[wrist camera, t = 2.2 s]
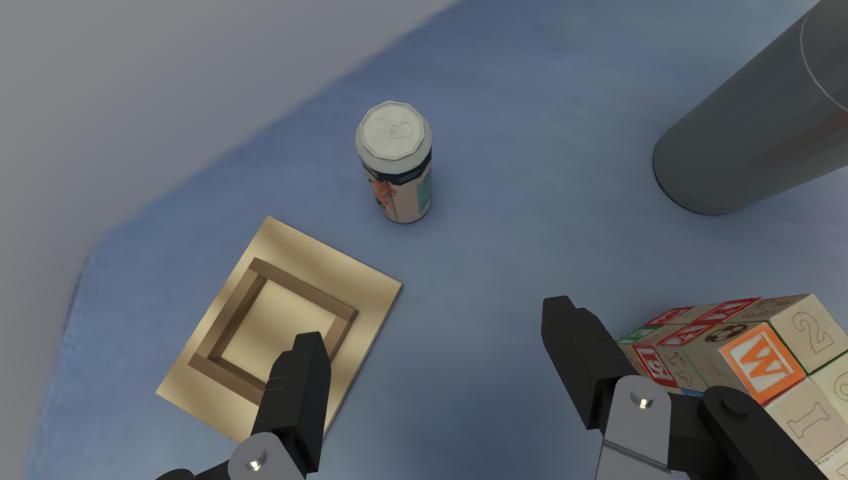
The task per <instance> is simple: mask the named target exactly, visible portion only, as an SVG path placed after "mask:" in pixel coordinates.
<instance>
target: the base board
mask: <svg viewBox="0 0 848 480" xmlns="http://www.w3.org/2000/svg"><path fill="white" fill-rule="evenodd" d="M402 287H403V285H402V284H401V283H400V282H398V281H396V280H394V279H392V278H390V277H388V276H386V275H384V274H382V273H380V272H378V271H376V270H374V269H372V268H370V267H368V266H366V265H364V264H362V263H360V262H358V261H356V260H354V259H352V258H350V257H349V256H347V255H345V254H343V253H341V252H339V251H337V250H335V249H333V248H331V247H329V246H327V245H325V244H323V243H321V242H319V241H317V240H315V239H313V238H311V237H309V236H307V235H305V234H303V233H301V232H300V231H298V230H296V229H294V228H292V227H290V226H288V225H286V224H284V223H282V222H280V221H278V220H276V219H274V218H272V217H270V216H267V218H266V219H265V221H264V223H263V224H262V226H261V227H260V229H259V230H258V232H257V234H256V235H255V237H254V238H253V240H252V241H251V243H250V245H249V246H248V248H247V249H246V251H245V252H244V254H243V256H242V257H241V259H240V260H239V262H238V263H237V265H236V267H235V268H234V270H233V271H232V273H231V274H230V276H229V278H228V279H227V281H226V282H225V284H224V286H223V287H222V289H221V290H220V292H219V293H218V295H217V297H216V298H215V300H214V301H213V303H212V304H211V306H210V308H209V309H208V311H207V312H206V314H205V315H204V317H203V319H202V320H201V322H200V323H199V325H198V326H197V328H196V330H195V331H194V333H193V334H192V336H191V338H190V339H189V341H188V342H187V344H186V345H185V347H184V349H183V350H182V352H181V353H180V355H179V356H178V358H177V360H176V361H175V363H174V364H173V366H172V367H171V369H170V371H169V372H168V374H167V375H166V377H165V378H164V380H163V382H162V383H161V385H160V386H159V388H158V389H157V391H156V393H157V394H158V395H160V396H162V397H163V398H165V399H166V400H168V401H170V402H171V403H173V404H175V405H176V406H178V407H180V408H181V409H183V410H185V411H186V412H188V413H190V414H191V415H193V416H195V417H196V418H198V419H200V420H201V421H203V422H205V423H206V424H208V425H209V426H211V427H213V428H214V429H216V430H218V431H219V432H221V433H223V434H224V435H226V436H228V437H229V438H231V439H233V440H234V441H236V442H238V443H239V444H241V443H242V442H243V441H244V440H245V439H247V438H249V437H250V434H251V431H252V428H253V425H254V422H255V419H256V416H257V412H258V409H259V406H260V403H261V400H262V397H263V394H264V392H265V387H266V384H267V381H268V380H269V375H270V371H271V368H272V365H273V363H274V362H275V361H276V359H277V358H278V357H279V356H280V354H281V353H282V352H283V351H289V350H292V348H293V344H294V340H295V337H296V335H297V334H301V333H308V332H314V331H319V332H320V333H321V336H322V339H323V342H324V345H325V348H326V351H327V354H328V357H329V360H330V364H331V383H330V390H329V397H328V404H327V412H326V419H325V426H324V433H323V439H324V437H325V435H326V433H327V431H328V429H329V427H330V425H331V423H332V421H333V419H334V418H335V416H336V414H337V412H338V410H339V408H340V406H341V404H342V402H343V400H344V398H345V396H346V395H347V393H348V391H349V389H350V387H351V385H352V383H353V381H354V379H355V377H356V375H357V373H358V372H359V370H360V368H361V366H362V364H363V362H364V360H365V358H366V356H367V354H368V352H369V350H370V348H371V347H372V345H373V343H374V341H375V339H376V337H377V335H378V333H379V331H380V329H381V327H382V325H383V324H384V322H385V320H386V318H387V316H388V314H389V312H390V310H391V308H392V306H393V304H394V302H395V301H396V299H397V297H398V295H399V293H400V291H401V289H402ZM322 441H323V440H322Z"/></svg>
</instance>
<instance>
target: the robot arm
mask: <svg viewBox="0 0 848 480" xmlns="http://www.w3.org/2000/svg"><path fill="white" fill-rule="evenodd" d="M653 160H654V170H655V173H656V176H657V179H658V181H659V182H660V184H661V186H662V188H663V189H664V190H665V191H666V193H667V194H668V195H669V196H670V197H671V198H672V199H673V200H675V201H676V202H677V203H678V204H680V205H682V206H683V207H685V208H687V209H689V210H692V211H695V212H698V213H701V214H708V215H721V214H726V213H730V212H733V211H736V210H738V209H741V208H743V207H746V206H748V205H751V204H753V203H755V202H758V201H760V200H763V199H765V198H768V197H771V196H773V195H776V194H778V193H781V192H783V191H786V190H788V189H791V188H793V187H795V186H798V185H800V184H803V183H805V182H808V181H810V180H813V179H815V178H818V177H820V176H823V175H825V174H827V173H830V172H832V171H835V170H837V169H840V168H842V167H845V166H847V165H848V0H820V1H819V2H818V3H817V4H816V5H815V6H814V7H813V8H811V9H810V10H809V11H808V12H807V13H806V14H804V15H803V16H802V17H801V18H800V19H799V20H797V21H796V22H795V23H794V24H793V25H792V26H790V27H789V28H788V29H787V30H786V31H785V32H783V33H782V34H781V35H780V36H779V37H777V38H776V39H775V40H774V41H773V42H772V43H770V44H769V45H768V46H767V47H766V48H765V49H763V50H762V51H761V52H760V53H759V54H758V55H756V56H755V57H754V58H753V59H752V60H750V61H749V62H748V63H747V64H746V65H745V66H743V67H742V68H741V69H740V70H739V71H738V72H736V73H735V74H734V75H733V76H732V77H731V78H729V79H728V80H727V81H726V82H725V83H724V84H722V85H721V86H720V87H719V88H718V89H716V90H715V91H714V92H713V93H712V94H711V95H709V96H708V97H707V98H706V99H705V100H704V101H702V102H701V103H700V104H699V105H698V106H696V107H695V108H694V109H693V110H692V111H690V112H689V113H688V114H687V115H686V116H685V117H684V118H682V119H681V120H680V121H679V122H678V123H677V124H675V125H674V126H673V127H672V128H671V129H670V130H668V131H667V132H666V133H665V134H664V135H663V136H662V137H661V139H660V140H659V141H658V144H657V146H656V148H655V152H654V159H653ZM541 334H542V340H543V343H544V346H545V348H546V350H547V352H548V354H549V356H550V358H551V360H552V362H553V364H554V366H555V368H556V370H557V372H558V374H559V376H560V378H561V380H562V382H563V384H564V386H565V388H566V390H567V392H568V394H569V395H570V397H571V399H572V401H573V403H574V405H575V407H576V409H577V411H578V413H579V415H580V417H581V419H582V421H583V423H584V425H585V427H586V429H587V430H591V429H597V428H599V429H600V431H601V433H602V435H603V437H604V438H603V442H602V447H601V451H600V456H599V461H598V465H597V470H596V475H595V479H594V480H671V470H676V471H682V472H686V473H687V475H688V476H689V478H690V479H691V480H829V479H828V478H827V477H826V476H825V474H824V473H823V472H822V471H821V470H820V469H819V468H818V467H817V466H816V465H815V464H814V463H813V461H812V460H811V459H810V458H809V457H808V456H807V455H806V454H805V453H804V452H803V451H802V449H801V448H800V447H799V446H798V445H797V444H796V443H795V442H794V441H793V440H792V439H791V438H790V436H789V435H788V434H787V433H786V432H785V431H784V430H783V429H782V428H781V427H780V426H779V424H778V423H777V422H776V421H775V420H774V419H773V418H772V417H771V416H770V415H769V414H768V413H767V411H766V410H765V409H764V408H763V407H762V406H761V405H760V404H759V403H758V402H757V401H756V400H755V399H753V398H752V397H751V396H749V395H747V394H746V393H744V392H742V391H740V390H737V389H735V388H731V387H727V386H712V387H709V388H708V389H706V390H705V392H704V393H703V396H702V397H698V396H690V395H682V394H675V393H670V392H666V391H665V390H664V389H663V388H662V387H661V386H660V385H659V384H658V383H656V382H654V381H653V380H651V379H648V378H646V377H642V376H641V375H640V374H639V373H638V372H637V370H636V369H635V368H634V366H633V365H632V363H631V362H630V361H629V359H628V358H627V357H626V355H625V354H624V353H623V351H622V350H621V349H620V347H619V346H618V344H617V343H616V342H615V340H613V339H612V336H611V335H610V334H609V332H608V331H607V330H606V329H605V327H604V326H603V324H602V323H601V321H600V320H599V319H598V317H597V316H595V315H594V314H592V313H591V312H590V311H588V310H587V309H585V308H578V309H576V308H575V306H574V305H573V303H572V302H571V300H570V299H569V298H568V297H567V296H558V297H551V298H545V299H544V301H543V312H542V325H541ZM330 383H331V364H330V360H329V357H328V354H327V351H326V348H325V345H324V342H323V339H322V336H321V333H320V332H319V331H314V332H308V333H301V334H297V335H296V337H295V340H294V344H293V348H292V350H289V351H283V352H282V353H281V354H280V356H279V357H278V358H277V359H276V361H275V362H274V363H273V365H272V368H271V371H270V375H269V380H268V381H267V384H266V387H265V392H264V394H263V397H262V400H261V403H260V406H259V409H258V412H257V416H256V419H255V422H254V425H253V428H252V431H251V434H250V437H249V438H247V439H245V440H244V441H243V442H242V443H241V444H240V445H239V446H238V447H237V448H236V449H235V450H234V452H233V453H232V455H231V457H230V459H229V460H227V461H225V462H224V463H222V464H220V465H217V466H215V467H213V468H211V469H209V470H207V471H204V472H202V473H200V474H198V475H196V476H194V475H193V474H192V472H191V471H189V470H187V469H176V470H172V471H169V472H167V473H165V474H163V475H162V476H160V477H159V478H157V479H156V480H306V475H307V473H313V472H318V469H319V461H320V454H321V447H322V440H323V433H324V426H325V419H326V412H327V404H328V397H329V390H330ZM670 469H671V470H670Z"/></svg>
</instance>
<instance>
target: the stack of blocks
mask: <svg viewBox="0 0 848 480" xmlns="http://www.w3.org/2000/svg"><path fill="white" fill-rule="evenodd" d="M616 343H617V344H618V346H619V347H620V349H621V350H622V351H623V353H624V354H625V355H626V357H627V358H628V359H629V361H630V362H631V363H632V365H633V366H634V368H635V369H636V370H637V372H638V373H639V374H640V375H641V376H642V377H646V378H648V379H651V380H653V381H654V382H656V383H658V384H659V385H660V386H661V387H662V388H663V389H664V390H665V391H666V392H670V393H675V394H682V395H690V396H698V397H702V396H703V393H704V392H705V390H706V389H708V388H709V387H712V386H727V387H731V388H735V389H737V390H740V391H742V392H744V393H746V394H747V395H749V396H751V397H752V398H753V399H755V400H756V401H757V402H758V403H759V404H760V405H761V406H762V407H763V408H764V409H765V410H766V411H767V413H768V414H769V415H770V416H771V417H772V418H773V419H774V420H775V421H776V422H777V423H778V424H779V426H780V427H781V428H782V429H783V430H784V431H785V432H786V433H787V434H788V435H789V436H790V438H791V439H792V440H793V441H794V442H795V443H796V444H797V445H798V446H799V447H800V448H801V449H802V451H803V452H804V453H805V454H806V455H807V456H808V457H809V458H810V459H811V460H812V461H813V463H814V464H815V465H816V466H817V467H818V468H819V469H820V470H821V471H822V472H823V473H824V474H825V476H826V477H827V478H828V479H829V480H848V337H847V335H846V334H845V333H844V332H843V330H842V329H841V328H840V327H839V325H838V324H837V323H836V322H835V320H834V319H833V318H832V316H831V315H830V314H829V313H828V311H827V310H826V309H825V307H824V306H823V305H822V304H821V302H820V301H819V300H818V298H817V297H816V296H814V295H813V294H802V295H794V296H786V297H778V298H770V299H765V300H764V299H763V298H762V297H758V298H750V299H742V300H734V301H727V302H724V303H718V304H711V305H704V306H697V307H696V306H695V307H685V308H675V309H671V310H669V311H668V312H666V313H664V314H662V315H661V316H659V317H657V318H655V319H654V320H652V321H650V322H649V323H647V324H645V325H644V326H643V327H641V328H639V329H638V330H636V331H634V332H632V333H631V334H629V335H627V336H625V337H624V338H622V339H620V340H618V341H616Z"/></svg>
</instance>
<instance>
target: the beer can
mask: <svg viewBox="0 0 848 480" xmlns="http://www.w3.org/2000/svg"><path fill="white" fill-rule="evenodd" d="M355 143H356V148H357V152H358V154H359V157H360V159H361V162H362V164H363V167H364V170H365V172H366V175H367V177H368V180H369V182H370V185H371V187H372V190H373V192H374V195H375V198H376V200H377V203H378V205H379V208H380V210H381V211H382V213H383V214H384V215H385V216H386V217H387V218H389V219H390V220H392V221H395V222H398V223H410V222H414V221H416V220H418V219H420V218H421V217H422V216H423V215H424V214H425V213H426V212H427V210H428V209H429V206H430V203H431V148H432V133H431V129H430V126H429V124H428V122H427V120H426V119H425V118H424V117H423V116H422V115H421V114H420V113H419V112H418V111H417V110H415V109H414V108H412V107H411V106H410V105H409V104H405V103H399V102H393V101H387V102H385V103H382V104H380V105H377V106H375V107H373V108H370V110H369V111H368V113H367V114H366V116H365V117H364V118H363V120H362V121H361V123H360V124H359V126H358V128H357V131H356V139H355Z"/></svg>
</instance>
